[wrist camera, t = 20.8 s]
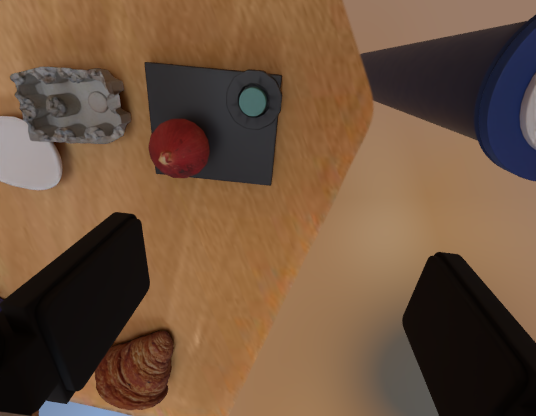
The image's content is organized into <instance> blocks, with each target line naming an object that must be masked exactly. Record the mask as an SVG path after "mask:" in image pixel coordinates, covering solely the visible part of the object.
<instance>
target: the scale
mask: <svg viewBox="0 0 536 416" xmlns="http://www.w3.org/2000/svg"><path fill="white" fill-rule="evenodd" d="M145 72H146V82H147V92H148V101H149V111H150V121H151V130H152V133H153V132H154V131H155V129H156V128H157V127H158V126H159V125H160V124H161V123H163V122H165V121H168V120H170V119H186V120H189V121H191V122H193V123H195V124H196V125H197V126H199V127H200V128H201V129H202V130H203V131H204V133H205V135H206V137H207V139H208V142H209V150H210V153H209V157H208V161H207V164H206V165H205V166H204V168H203V169H202V170H201V171H200V172H199V173H198V174H195V175H193V176H190V177H193V178H203V179H212V180H222V181H231V182H241V183H251V184H260V185H270V186H271V182H272V172H273V162H274V152H275V142H276V132H277V121H278V114H279V113H280V111H281V103H282V92H281V80H282V75H276V74H268V73H266V72H265V71H260V70H246V71H235V70H225V69H214V68H204V67H194V66H183V65H173V64H162V63H152V62H145ZM249 87H258V88H260V89H262V90H263V91H264V93H265V95H266V97H267V104H266V107H265V109H264V111H263V112H262V113H261V114H260V115H258V116H248V115H246V114H245V113H244V112H243V111H242V110H241V108H240V106H239V97H240V95H241V93H242V92H243V91H244V90H245V89H247V88H249ZM155 169H156V174H164V173H162V172H161V171H160V170H159V169H158V168H157V167H156V166H155ZM164 175H166V174H164Z"/></svg>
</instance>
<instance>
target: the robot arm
mask: <svg viewBox="0 0 536 416" xmlns="http://www.w3.org/2000/svg"><path fill="white" fill-rule="evenodd" d="M520 128H521V130H522V133H523V136H524V138H525V139H526V141H527V142H528V144H529V145H530V146H531V147H532V148H534V149H535V150H536V73H535V75H534V76H533V77H532V79H531V81H530V83H529V85H528V87H527V89H526V91H525V94H524V97H523V100H522V103H521V109H520ZM149 285H150V279H149V273H148V266H147V259H146V252H145V245H144V238H143V231H142V224H141V221H140V220H139V219H137V218H136V216H135V215H134V214H128V213H120V212H115V213H113V214H112V215H110V216H109V217H108V218H107V219H105V220H104V221H103V222H102V223H100V224H99V225H98V226H96V227H95V228H94V229H93V230H91V231H90V232H89V233H88V234H86V235H85V236H84V237H83V238H81V239H80V240H79V241H78V242H76V243H75V244H74V245H73V246H71V247H70V248H69V249H68V250H66V251H65V252H64V253H63V254H61V255H60V256H59V257H57V258H56V259H55V260H54V261H52V262H51V263H50V264H49V265H47V266H46V267H45V268H44V269H42V270H41V271H40V272H39V273H37V274H36V275H35V276H34V277H32V278H31V279H30V280H29V281H27V282H26V283H25V284H23V285H22V286H21V287H20V288H18V289H17V290H16V291H15V292H13V293H12V294H11V295H10V296H8V297H7V298H6V299H5V300H3V301H2V302H1V303H0V307H1V309H2V311H1V312H0V416H39V409H40V407H41V406H42V405H43V404H44V402H45V401H46V400H47V401H51V402H58V403H64V404H67V403H68V402H69V400H70V399H71V397H72V396H73V394H74V393H75V391H80V390H81V389H82V388H83V387H84V386H85V385H86V383H87V382H88V380H89V379H90V377H91V376H92V374H93V373H94V371H95V370H96V368H97V367H98V365H99V364H100V362H101V361H102V359H103V358H104V356H105V355H106V353H107V352H108V350H109V349H110V347H111V346H112V344H113V343H114V341H115V340H116V338H117V337H118V335H119V334H120V332H121V331H122V329H123V328H124V326H125V325H126V323H127V322H128V320H129V319H130V317H131V316H132V314H133V313H134V311H135V310H136V308H137V307H138V305H139V304H140V302H141V301H142V299H143V298H144V296H145V295H146V293H147V291H148V289H149ZM402 321H403V327H404V330H405V333H406V335H407V337H408V340H409V342H410V345H411V347H412V350H413V352H414V355H415V357H416V360H417V362H418V365H419V367H420V370H421V372H422V374H423V377H424V379H425V382H426V384H427V387H428V389H429V392H430V394H431V397H432V399H433V401H434V404H435V407H436V409H437V411H438V414H439V416H536V343H535V341H533V339H532V338H531V337H530V336H529V334H528V333H527V332H526V331H525V330H524V329H523V327H522V326H521V325H520V324H519V323H518V322H517V321H516V320H515V318H514V317H513V316H512V315H511V314H510V312H509V311H508V310H507V309H506V308H505V307H504V305H503V304H502V303H501V302H500V301H499V300H498V299H497V297H496V296H495V295H494V294H493V293H492V291H491V290H490V289H489V288H488V287H487V286H486V285H485V283H484V282H483V281H482V280H481V279H480V278H479V277H478V275H477V274H476V273H475V272H474V271H473V269H472V268H471V267H470V266H469V265H468V264H467V262H466V261H465V260H464V259H463V258H462V257H461V256H460V255H458V254H450V253H442V252H437V253H436V254H435V255H434V256H430V257H429V258H428V260H427V262H426V264H425V267H424V269H423V271H422V274H421V276H420V278H419V280H418V283H417V285H416V287H415V290H414V292H413V294H412V297H411V299H410V301H409V303H408V306H407V308H406V311H405V313H404V315H403V320H402Z"/></svg>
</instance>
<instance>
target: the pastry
mask: <svg viewBox="0 0 536 416" xmlns="http://www.w3.org/2000/svg"><path fill="white" fill-rule="evenodd" d="M172 354H173V342H172V339H171V336H170V335H169V334H168V332H167V331H157V332H154V333H151V334H150V335H145V336H141V337H139V338H137V339H134V340H132V341H129V342H127V343H122V344H118V345H115V346H112V347H110V349H109V350H108V352H107V353H106V355H105V356H104V358H103V359H102V361H101V362H100V364H99V365H98V367H97V368H96V370H95V380H96V389H97V391H98V393H99V395H100V396H101V397H102V398H103V399H104V400H105V401H106V402H107V403H109V404H111V405H113V406H116V407H118V408H121V409H126V410H135V409H138V410H142V409H147V408H150V407H153V406H155V405H156V404H158V403H160V402H161V401H162V400H163V399H164V397H165V396H166V394H167V392H168V386H167V383H168V379H169V377H170V372H171V360H170V357H171V356H172Z"/></svg>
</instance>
